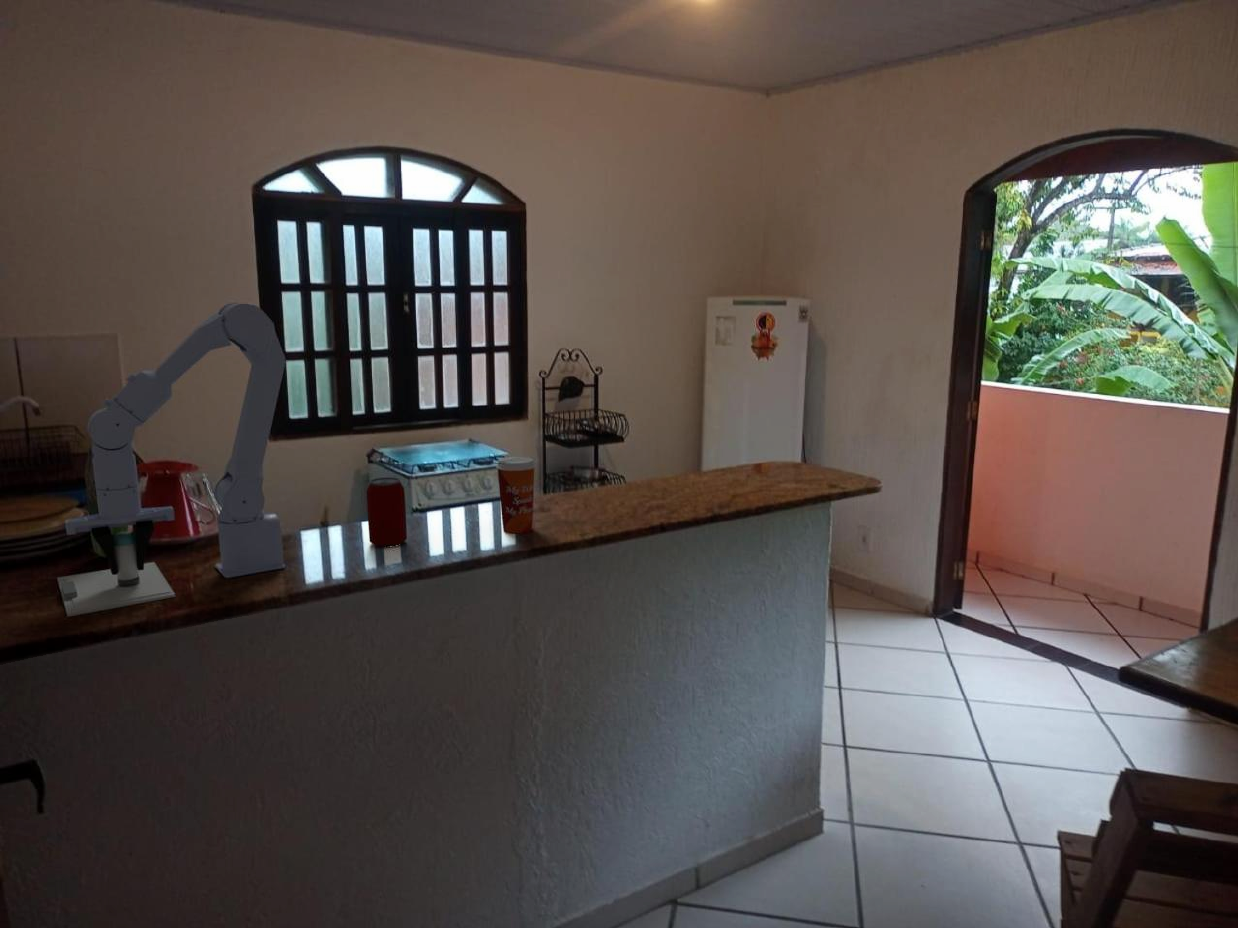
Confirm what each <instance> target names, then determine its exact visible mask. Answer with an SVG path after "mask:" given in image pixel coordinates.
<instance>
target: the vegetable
mask: <svg viewBox="0 0 1238 928" xmlns="http://www.w3.org/2000/svg"><path fill="white" fill-rule="evenodd" d="M93 457H94V455H93V454H92V446H90V447H89V448H88V453H87V457H86V463H85V468H84V480H85V490H86V491H85V492H86V493H85V494H86V504H87V512H88V516H91V515H96V514H99V510H98V502H97V494H96V486H95V478H94V470H93V462H92V459H93ZM110 530H111V534H112V535H113V534H115V533H119V532H129V525H128V526H121V527H114V528H110ZM89 532H90V539H91V544H92V547H93V550H94V552H95V553H96V554H98V556H100V557H103V558H107V557H106V555H105V554H104V552H103V550H102V549H101V547H100V546H99V544H98V543H97V541H96V540H95V539H94V537H93V535H92V533H91V531H89Z"/></svg>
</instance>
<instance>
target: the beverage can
mask: <svg viewBox="0 0 1238 928" xmlns="http://www.w3.org/2000/svg"><path fill="white" fill-rule="evenodd" d="M366 506H367V507H366V508H367V521H368V523H367V525H368V526H367V527H368V535H369V537H368V539H369V542H370V544H372V545H374V546H375V545H376V547H377V546H378V547H379V548H391V547H390V546H395V547H397V546H396V545H398V546H400V545H402V544H403V543H404V542H405V541H407V537H408V536H407V535H408V533H407V532H408V531H407V512H406V511H407V509H406V494H405V487H404V485H403V484H402V482H401V479H400V478H397V477H378V478H374V479H371V480H370V481H369V484H368V486H367V489H366ZM401 543H402V544H401ZM399 544H400V545H399ZM378 547H377V548H378Z"/></svg>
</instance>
